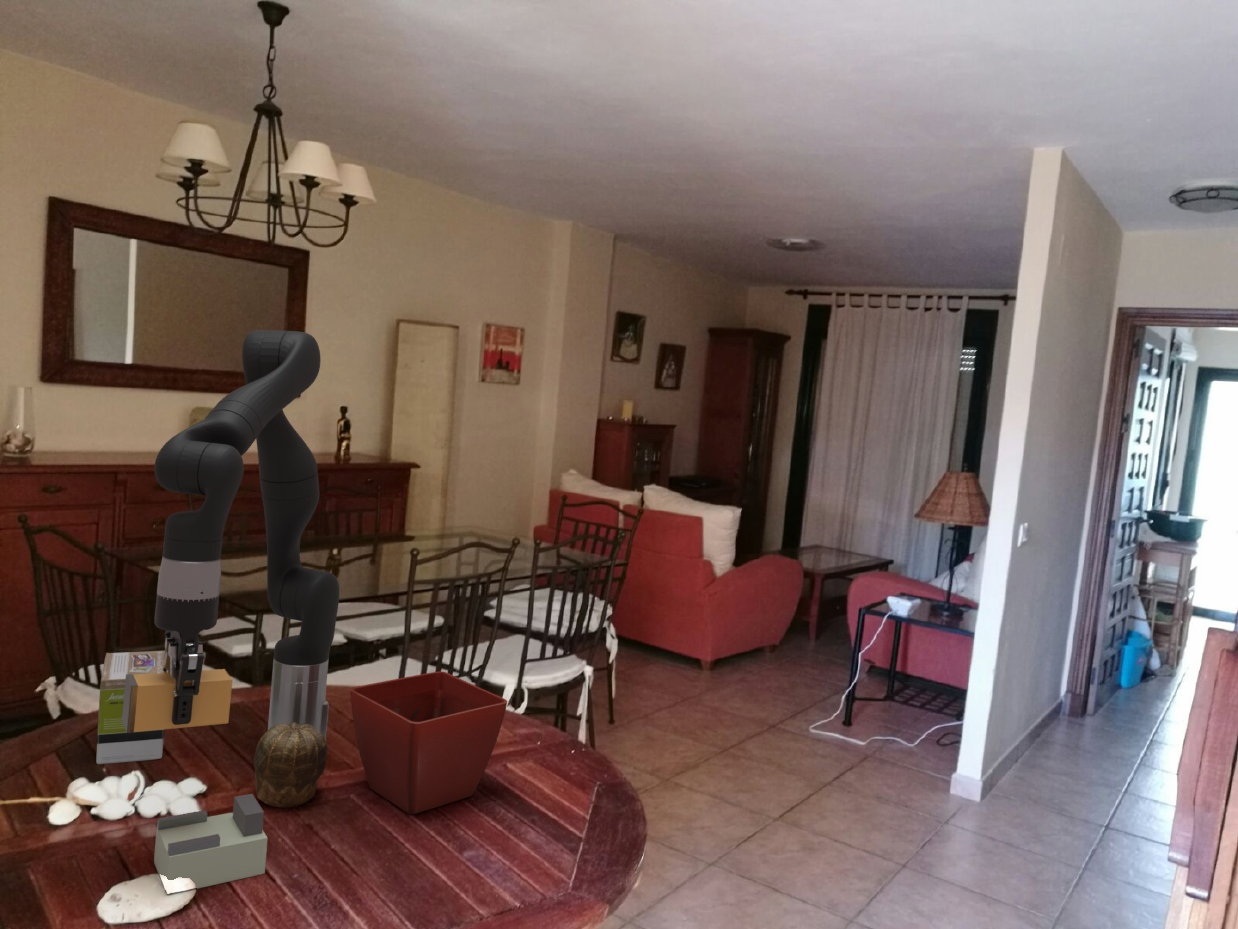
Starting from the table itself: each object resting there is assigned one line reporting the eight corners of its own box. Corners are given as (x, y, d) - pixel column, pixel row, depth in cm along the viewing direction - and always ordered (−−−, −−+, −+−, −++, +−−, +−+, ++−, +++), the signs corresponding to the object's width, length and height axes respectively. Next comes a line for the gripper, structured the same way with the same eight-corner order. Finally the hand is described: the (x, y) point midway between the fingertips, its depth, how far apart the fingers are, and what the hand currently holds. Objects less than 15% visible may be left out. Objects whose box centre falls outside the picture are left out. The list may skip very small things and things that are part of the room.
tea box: (99, 731, 160) (105, 650, 159) (162, 727, 165) (168, 648, 164) (94, 766, 147) (100, 678, 146) (162, 760, 151) (169, 675, 150)
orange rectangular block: (220, 711, 125) (224, 668, 125) (228, 723, 121) (232, 679, 121) (121, 719, 118) (126, 674, 118) (126, 733, 114) (131, 686, 114)
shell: (254, 818, 135) (260, 741, 134) (247, 787, 145) (253, 715, 144) (328, 810, 140) (335, 735, 139) (317, 780, 150) (323, 710, 149)
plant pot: (338, 785, 149) (347, 686, 148) (433, 759, 163) (442, 669, 162) (403, 831, 136) (413, 723, 135) (500, 799, 150) (510, 701, 149)
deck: (247, 843, 128) (251, 789, 127) (264, 873, 121) (269, 816, 120) (154, 862, 121) (158, 804, 120) (166, 895, 114) (171, 834, 113)
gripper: (230, 602, 115) (218, 732, 116) (208, 579, 127) (197, 697, 128) (166, 604, 111) (154, 738, 112) (149, 580, 123) (138, 702, 123)
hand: (177, 716), depth 120 cm, fingers closed on orange rectangular block, 5 cm apart
